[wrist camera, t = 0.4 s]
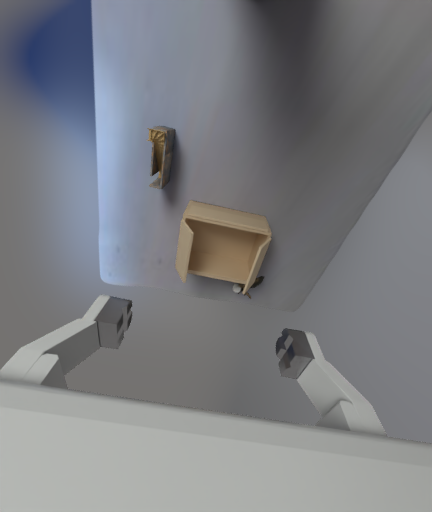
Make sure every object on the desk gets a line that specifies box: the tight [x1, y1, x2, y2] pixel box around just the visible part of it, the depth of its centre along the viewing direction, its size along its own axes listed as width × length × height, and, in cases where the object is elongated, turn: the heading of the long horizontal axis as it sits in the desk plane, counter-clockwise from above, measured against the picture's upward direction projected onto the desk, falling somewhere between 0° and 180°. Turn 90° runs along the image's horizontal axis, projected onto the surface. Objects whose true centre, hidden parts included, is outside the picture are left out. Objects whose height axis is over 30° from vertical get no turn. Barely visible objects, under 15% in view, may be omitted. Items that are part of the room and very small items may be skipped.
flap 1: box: [175, 220, 194, 283], centre depth 48 cm, size 13×1×6 cm
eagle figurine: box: [233, 276, 264, 299], centre depth 64 cm, size 8×7×9 cm
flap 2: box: [243, 238, 271, 294], centre depth 49 cm, size 13×1×6 cm, turn 168°
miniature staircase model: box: [147, 126, 175, 189], centre depth 45 cm, size 11×3×10 cm, turn 166°
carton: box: [183, 200, 272, 284], centre depth 55 cm, size 16×20×10 cm
